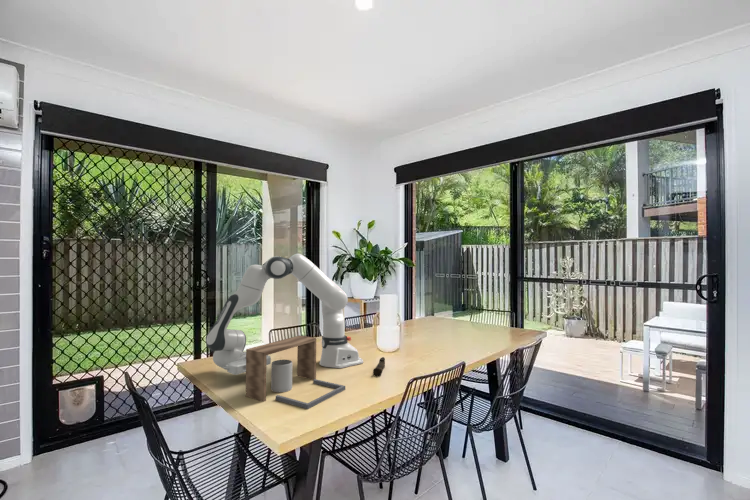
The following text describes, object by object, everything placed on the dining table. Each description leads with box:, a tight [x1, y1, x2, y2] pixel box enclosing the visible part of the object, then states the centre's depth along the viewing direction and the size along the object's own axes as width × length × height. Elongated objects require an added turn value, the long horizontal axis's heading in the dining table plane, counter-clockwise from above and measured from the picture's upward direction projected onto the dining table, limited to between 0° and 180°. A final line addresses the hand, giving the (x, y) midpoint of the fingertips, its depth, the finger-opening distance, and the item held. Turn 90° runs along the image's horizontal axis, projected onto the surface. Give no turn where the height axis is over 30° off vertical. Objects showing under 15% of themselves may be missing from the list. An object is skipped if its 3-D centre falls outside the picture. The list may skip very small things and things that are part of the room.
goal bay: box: [275, 378, 346, 410], centre depth 149 cm, size 16×23×2 cm
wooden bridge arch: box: [245, 335, 317, 403], centre depth 157 cm, size 10×30×18 cm, turn 149°
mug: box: [270, 359, 293, 393], centre depth 157 cm, size 12×8×11 cm
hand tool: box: [372, 356, 386, 377], centre depth 181 cm, size 19×4×5 cm, turn 167°
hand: (262, 367), depth 163 cm, fingers closed
